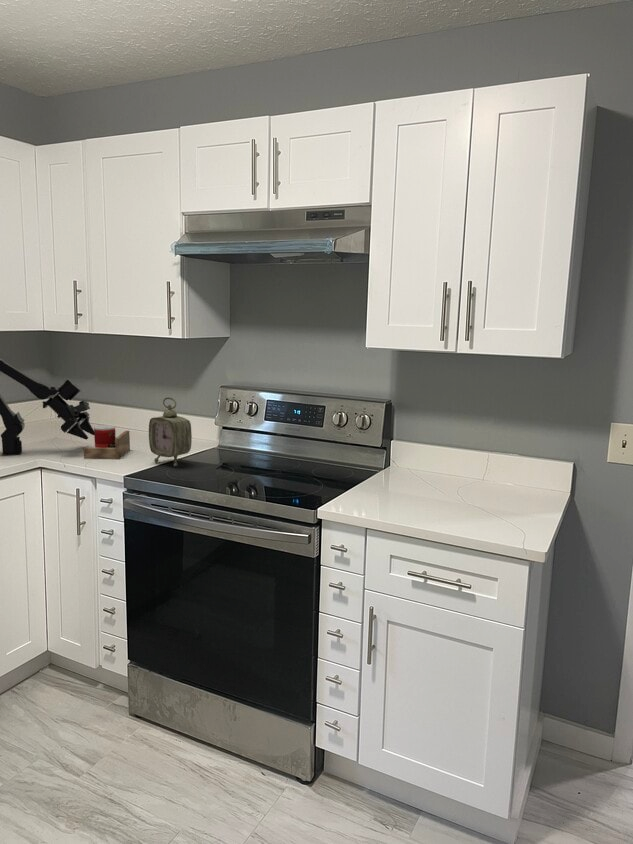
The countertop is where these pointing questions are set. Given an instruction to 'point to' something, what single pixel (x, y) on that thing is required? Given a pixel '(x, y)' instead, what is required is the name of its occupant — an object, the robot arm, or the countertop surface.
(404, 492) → the countertop surface
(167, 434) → the tabletop clock
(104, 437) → the canned food
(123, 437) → the cradle
